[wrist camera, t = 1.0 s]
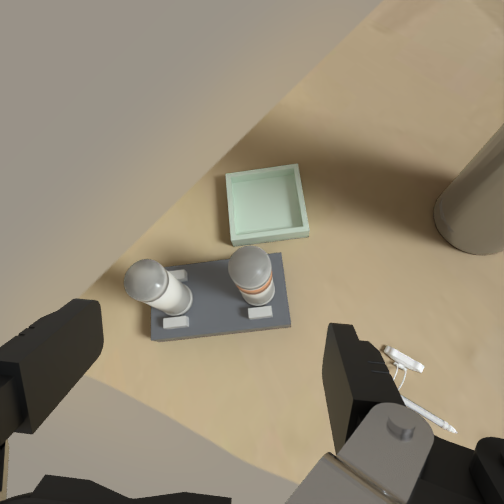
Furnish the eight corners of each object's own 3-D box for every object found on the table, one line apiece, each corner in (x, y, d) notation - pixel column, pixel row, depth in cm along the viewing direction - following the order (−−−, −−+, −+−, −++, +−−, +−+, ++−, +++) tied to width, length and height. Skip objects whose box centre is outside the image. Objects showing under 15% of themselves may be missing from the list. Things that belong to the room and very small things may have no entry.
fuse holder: (281, 259, 39) (280, 248, 36) (290, 327, 37) (291, 322, 33) (159, 274, 40) (147, 265, 37) (159, 342, 38) (146, 339, 34)
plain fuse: (192, 282, 37) (164, 256, 28) (194, 314, 36) (165, 297, 27) (161, 286, 37) (124, 261, 29) (161, 318, 36) (123, 302, 27)
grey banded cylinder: (272, 272, 36) (268, 243, 28) (276, 304, 35) (273, 284, 27) (240, 276, 37) (226, 248, 28) (243, 308, 35) (229, 289, 27)
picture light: (323, 356, 36) (326, 355, 34) (342, 321, 37) (345, 319, 35) (453, 435, 32) (465, 439, 30) (469, 394, 33) (481, 395, 31)
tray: (297, 172, 43) (297, 163, 41) (308, 236, 40) (309, 230, 38) (228, 182, 44) (225, 173, 42) (233, 246, 41) (231, 240, 39)
